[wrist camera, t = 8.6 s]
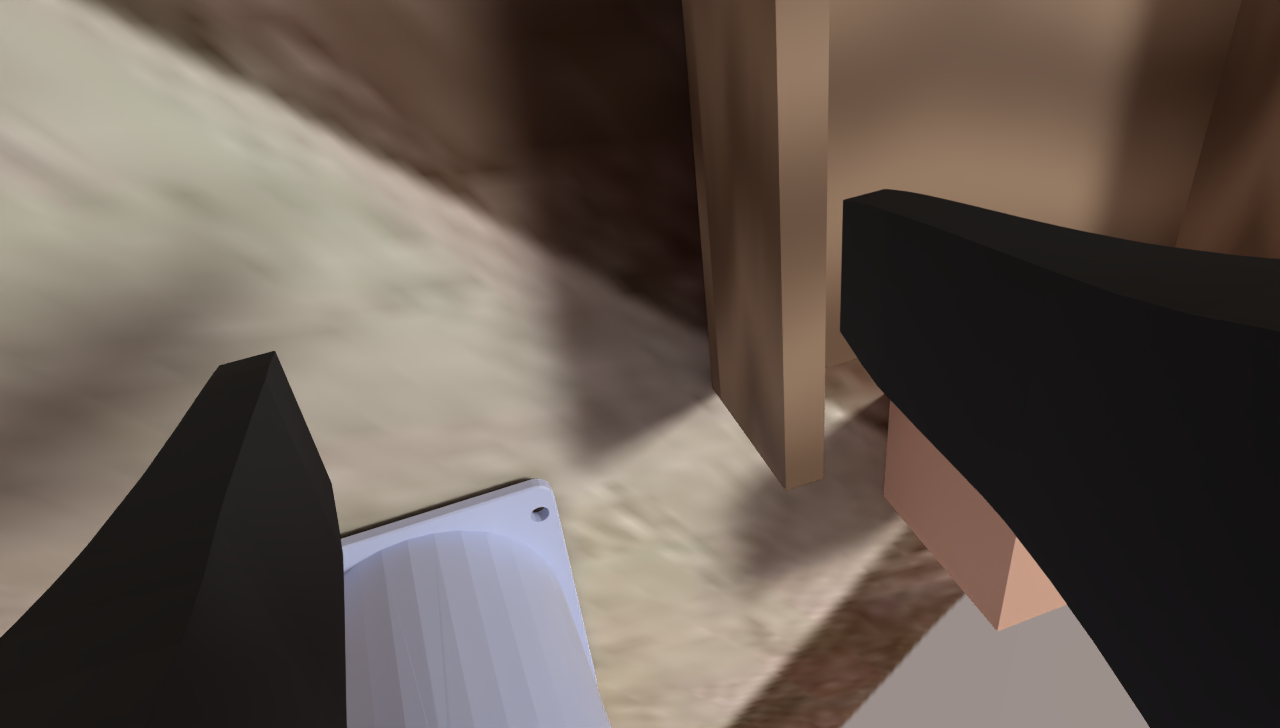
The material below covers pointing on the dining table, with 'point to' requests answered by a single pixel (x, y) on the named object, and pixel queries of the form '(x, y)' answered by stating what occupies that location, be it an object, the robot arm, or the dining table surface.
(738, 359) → the box
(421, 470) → the dining table surface
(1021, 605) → the block
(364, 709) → the robot arm
